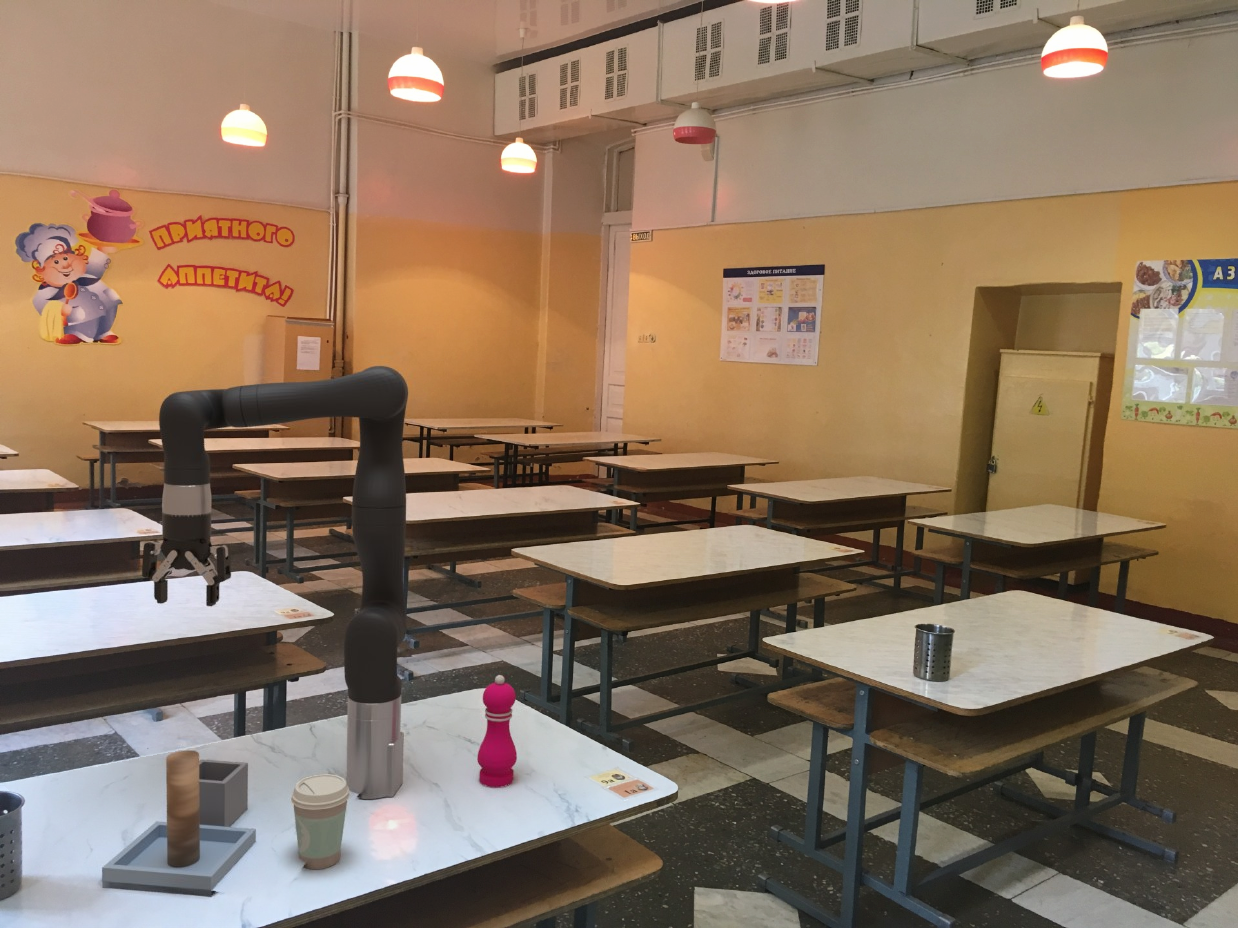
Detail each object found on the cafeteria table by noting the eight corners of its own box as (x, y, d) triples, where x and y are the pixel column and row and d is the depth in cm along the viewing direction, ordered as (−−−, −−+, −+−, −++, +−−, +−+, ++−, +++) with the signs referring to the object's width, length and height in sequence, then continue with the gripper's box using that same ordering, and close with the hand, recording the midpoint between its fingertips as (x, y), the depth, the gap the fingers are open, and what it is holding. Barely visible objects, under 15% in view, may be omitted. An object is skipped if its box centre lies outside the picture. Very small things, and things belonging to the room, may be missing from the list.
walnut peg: (205, 853, 143) (204, 751, 142) (190, 868, 139) (189, 763, 138) (177, 851, 144) (176, 749, 142) (161, 866, 139) (160, 761, 138)
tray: (255, 847, 148) (255, 828, 148) (211, 896, 134) (211, 876, 134) (156, 839, 149) (156, 820, 149) (102, 887, 135) (102, 867, 135)
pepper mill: (469, 783, 174) (472, 677, 172) (489, 768, 180) (492, 666, 178) (504, 791, 171) (507, 684, 169) (522, 776, 178) (526, 672, 176)
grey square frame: (247, 814, 158) (247, 762, 157) (224, 837, 150) (224, 783, 149) (201, 810, 159) (201, 759, 158) (175, 834, 151) (175, 779, 150)
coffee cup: (298, 845, 149) (299, 771, 148) (353, 845, 150) (354, 772, 149) (283, 874, 141) (284, 796, 139) (342, 874, 141) (343, 797, 140)
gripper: (238, 508, 163) (237, 601, 165) (157, 504, 164) (157, 596, 165) (218, 515, 156) (217, 612, 157) (133, 510, 156) (133, 606, 158)
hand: (186, 603), depth 161 cm, fingers open, 8 cm apart
